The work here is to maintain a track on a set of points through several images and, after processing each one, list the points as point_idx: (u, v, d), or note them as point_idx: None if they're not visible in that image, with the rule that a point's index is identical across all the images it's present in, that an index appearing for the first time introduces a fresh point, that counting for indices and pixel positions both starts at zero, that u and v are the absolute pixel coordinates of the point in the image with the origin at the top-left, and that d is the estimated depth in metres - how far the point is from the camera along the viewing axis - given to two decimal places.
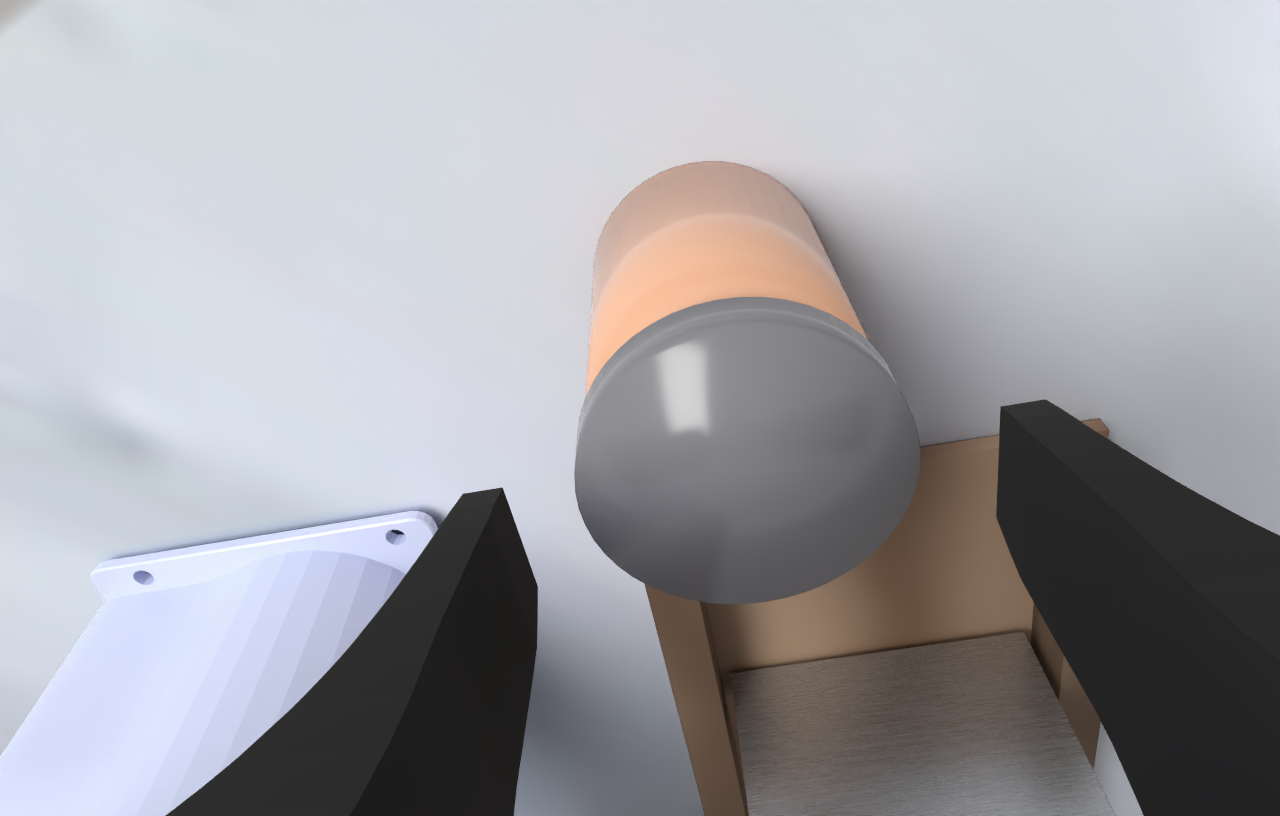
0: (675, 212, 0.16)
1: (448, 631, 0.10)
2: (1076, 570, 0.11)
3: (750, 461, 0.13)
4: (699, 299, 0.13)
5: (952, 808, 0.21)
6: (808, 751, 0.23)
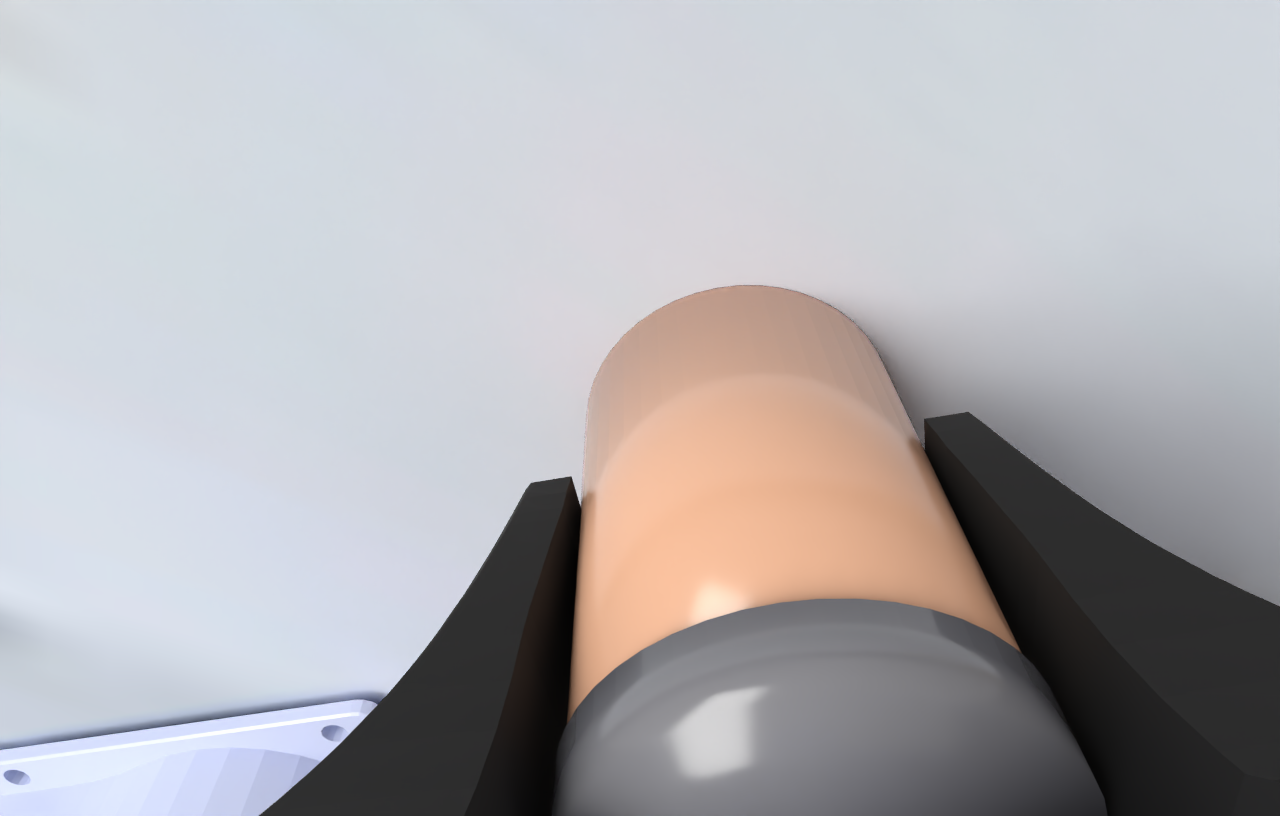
0: (701, 380, 0.11)
1: (535, 618, 0.10)
2: (989, 582, 0.11)
3: None
4: (749, 587, 0.08)
5: None
6: None
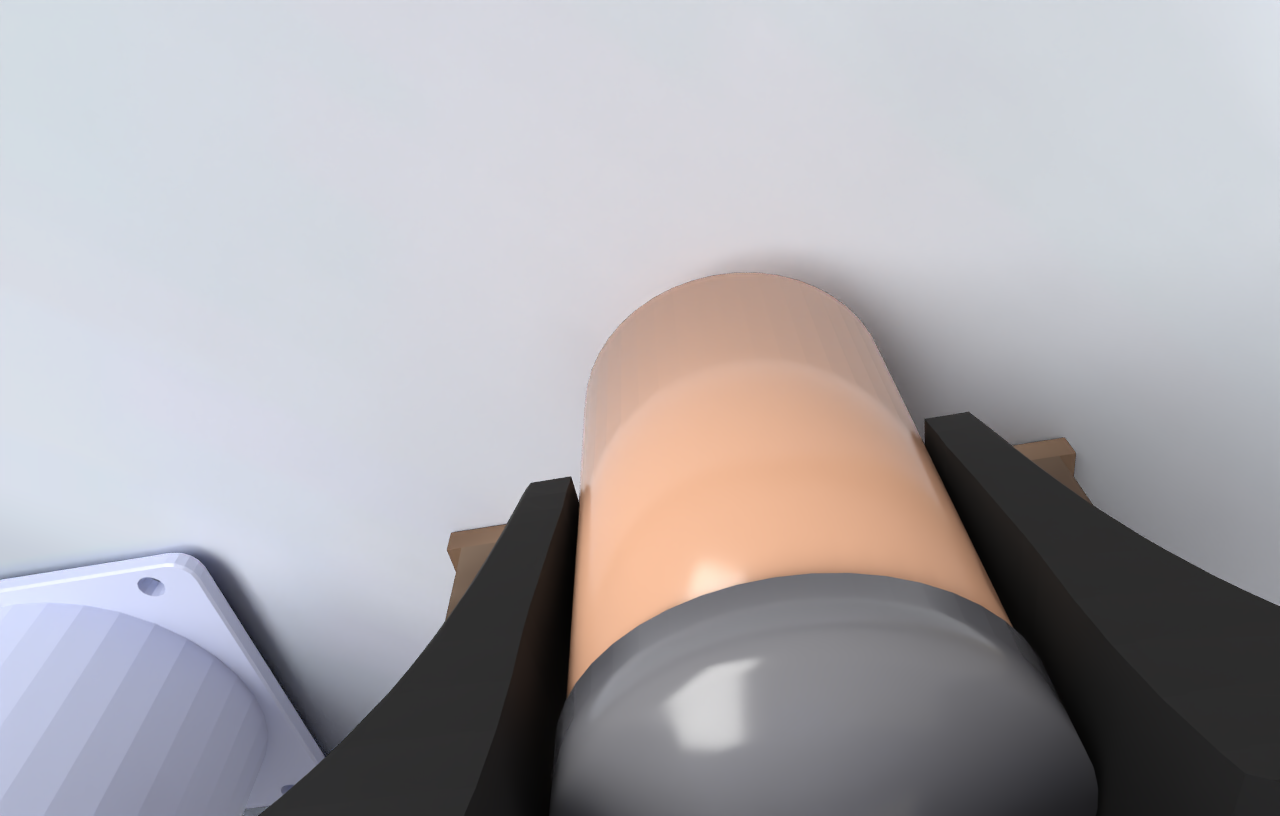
0: (697, 365, 0.11)
1: (535, 618, 0.10)
2: None
3: None
4: (744, 564, 0.08)
5: None
6: None
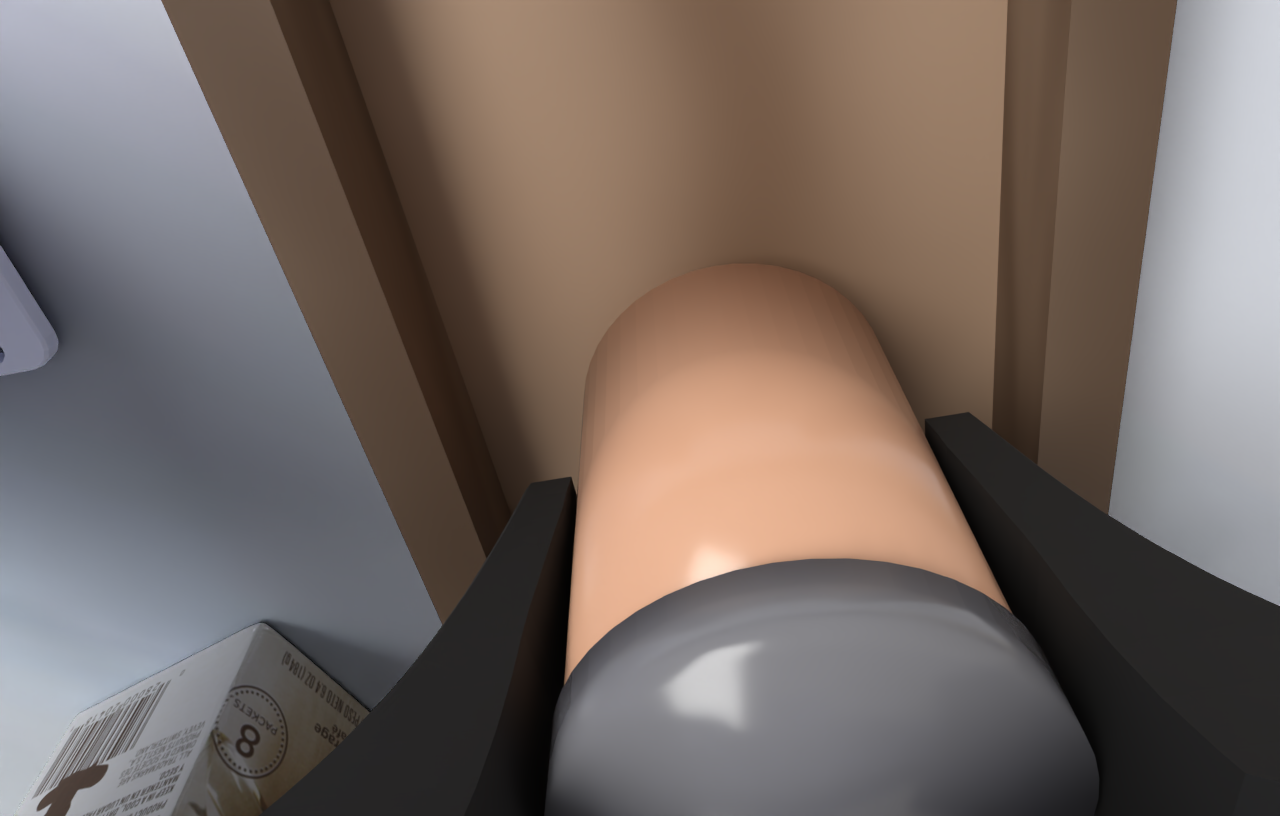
0: (696, 354, 0.11)
1: (535, 618, 0.10)
2: None
3: (824, 809, 0.08)
4: (743, 550, 0.08)
5: None
6: None
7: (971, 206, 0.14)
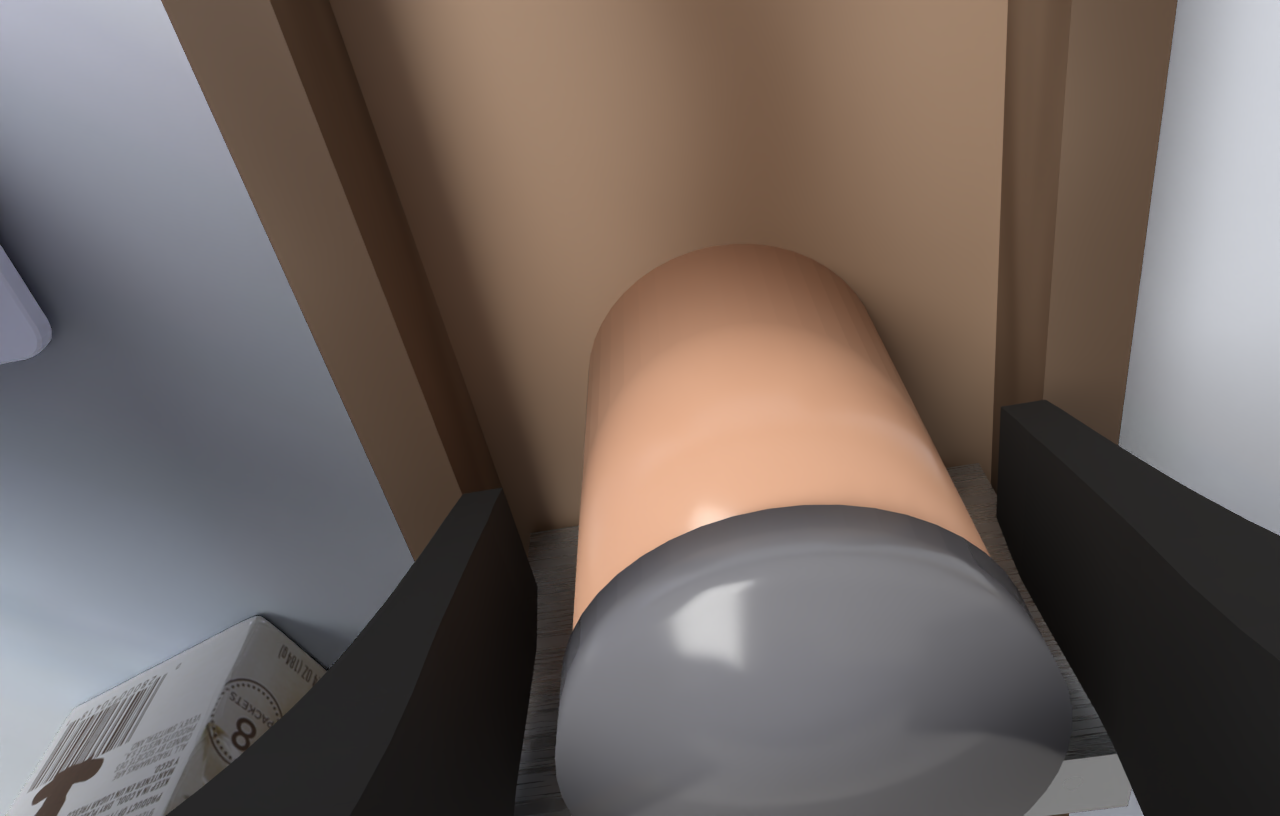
0: (697, 327, 0.12)
1: (448, 631, 0.10)
2: (1076, 570, 0.11)
3: (817, 741, 0.09)
4: (741, 499, 0.09)
5: None
6: None
7: (972, 192, 0.14)
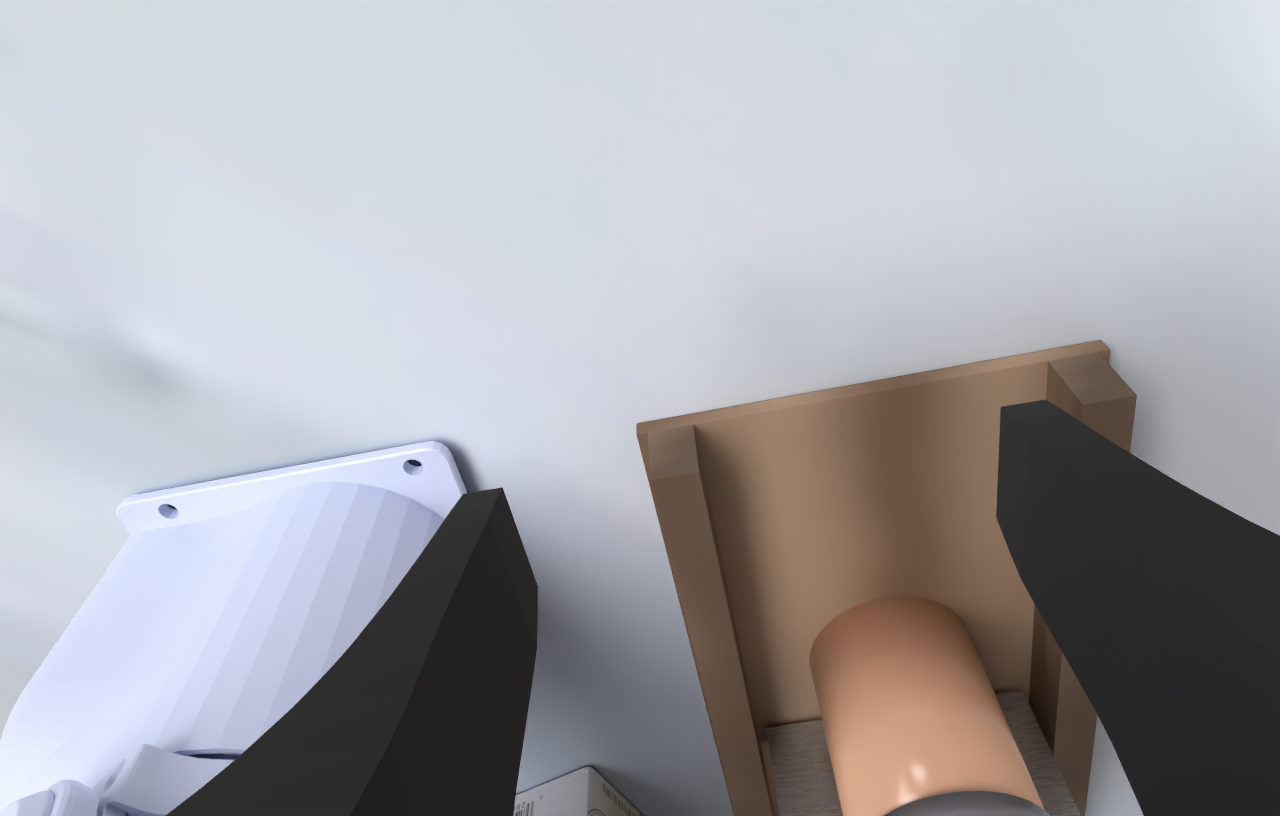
0: (890, 664, 0.25)
1: (449, 631, 0.10)
2: (1076, 570, 0.11)
3: None
4: (936, 783, 0.21)
5: None
6: (836, 799, 0.27)
7: None
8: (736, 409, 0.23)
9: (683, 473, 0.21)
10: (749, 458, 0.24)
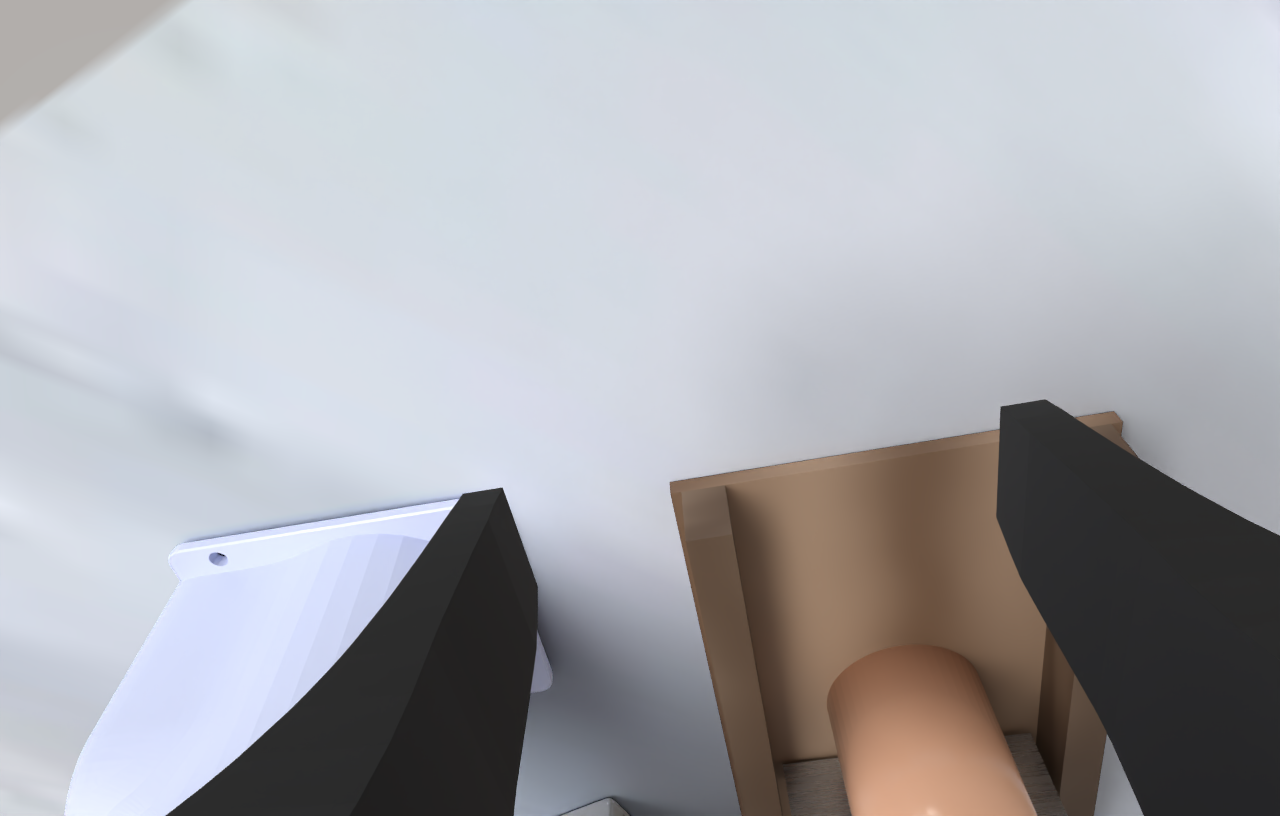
0: (907, 713, 0.26)
1: (448, 631, 0.10)
2: (1076, 570, 0.11)
3: None
4: None
5: None
6: None
7: (1032, 624, 0.27)
8: (765, 470, 0.24)
9: (717, 535, 0.22)
10: (777, 517, 0.25)
